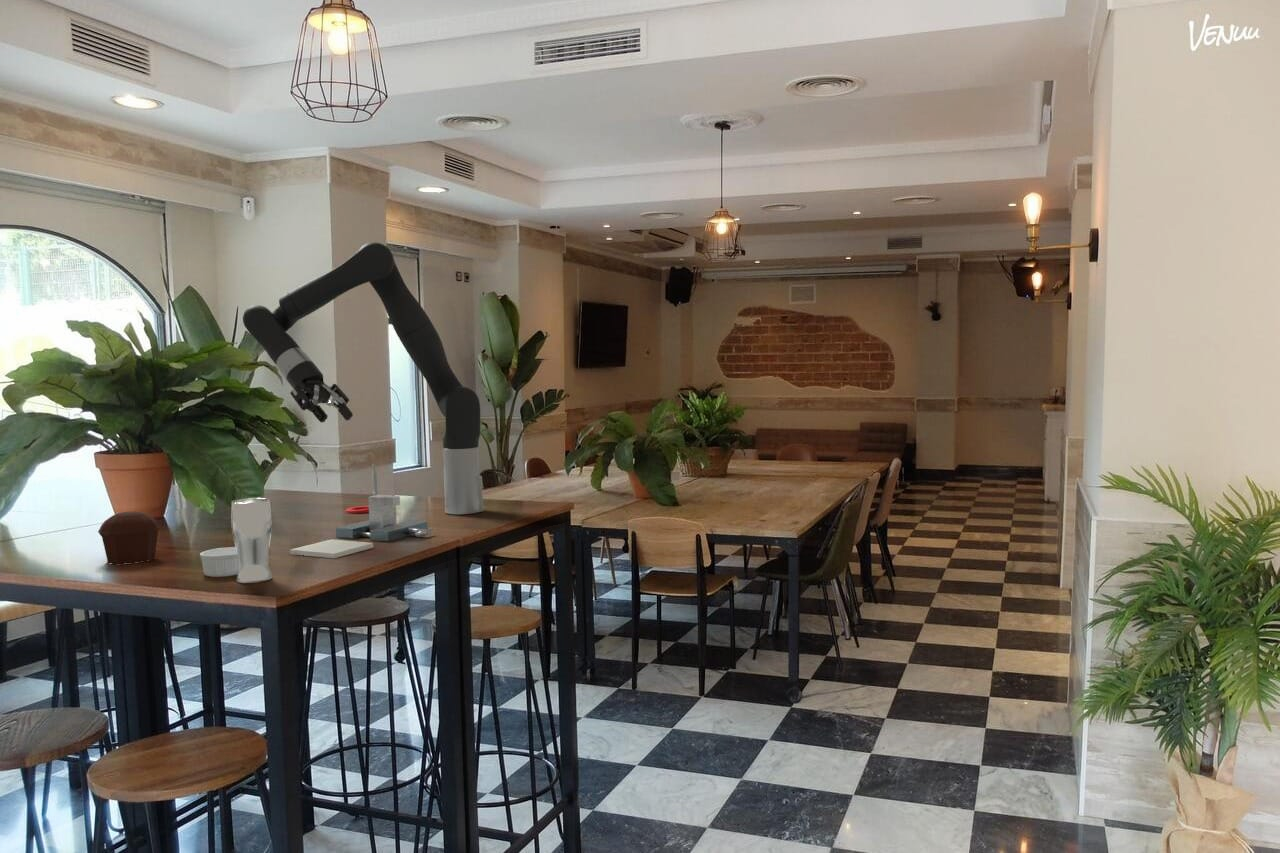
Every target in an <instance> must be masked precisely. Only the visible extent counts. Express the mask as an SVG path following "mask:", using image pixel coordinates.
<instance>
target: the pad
mask: <svg viewBox="0 0 1280 853" xmlns="http://www.w3.org/2000/svg"><path fill="white" fill-rule="evenodd" d="M373 548H374V543H373V542H364V541H355V540H354V541H353V540H345V539H344V540H343V539H327V540H323V541H319V542H316V543H310V544H306V545H303V546H299V547H296V548H291V549H290V555H292V556H293V555H294V556H295V555H296V556H303V555H304V556H306V557H315V558H326V559H327V558H328V559H337V558H341V557H345V556H348V555H351V554H356V553H358V552H363V551H366V550H369V549H373Z"/></svg>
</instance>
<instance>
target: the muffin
mask: <svg viewBox="0 0 1280 853" xmlns="http://www.w3.org/2000/svg"><path fill="white" fill-rule="evenodd" d="M161 528H162V526H161V525H160V524H159V522H158V521H157V520H156V519H155V518H154V517H153V516H151V515H149V514H147V513H145V512H142V511H122V512H119V513H115V514H113V515H111V516H110V517H108V518H107V519H105V521H103V523H102V524H101V525H100V527H99V529H98V530H97V533H98V534H99V535H100V536H101V540H102V543H103V544H102V545H103V547H104V551H105V556H106V561H107V563H108V564H109V563H114V564H113V565H115V564H124V563H135V562H141V561H147V560H150V559H152V560H154V559H153V558H156V551H157V550H156V549H157V543H158V535H159V534H158V532H159V531H160V529H161ZM150 561H151V560H150ZM147 562H148V561H147ZM141 563H142V562H141ZM124 565H125V564H124Z"/></svg>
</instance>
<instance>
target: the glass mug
mask: <svg viewBox="0 0 1280 853" xmlns="http://www.w3.org/2000/svg"><path fill="white" fill-rule="evenodd" d="M399 505H400V506H401V496H400V495H394V494H379V495H375V496H373V495H371V496H368V506H369V512H368V517H369V518H368V520H369V523H370V531H371V530H375V529H379V528H383V527H387V526H391V525H395V524H396V523H395V507H396V506H399Z"/></svg>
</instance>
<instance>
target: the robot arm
mask: <svg viewBox="0 0 1280 853" xmlns="http://www.w3.org/2000/svg"><path fill="white" fill-rule="evenodd" d="M366 283H369V284H370V285H371V287H372V288H373V289H374V291H375V292H376V294H377V296H379V299H380V300H381V302H382V304H383V307H384V310H385V312H386V314H387V315H388V319H389V321H390V323H391V326H392V328H393V330H394V331H395V334H396V336H397V337H398V339H399V341H400V342H401V344H402V345H403V347H404V348H405V351H406V352H407V354H408V355H409V357H410V358H411V360H412V362H413V363H414V365H415V367H416V368H417V369H418V370H419V372H420V374H421V375H422V376H423V378H424V380H425V381H426V383H427V385H428V386H429V389H430V392H431V394H432V396H433V397H434V400H435V402H436V404H437V407H438V409H439V411H440V413H441V414H442V415H443V417H445V431H444V432H445V433H444V436H443V438H442V455H443V460H442V461H443V484H444V511H445V514H447V515H470V514H477V513H480V512H484V501H483V500H484V497H483V494H484V493H483V476H482V475H480V456H479V454H480V452H479V440H480V436H481V404H480V399H479V396H478V395H477V393H476V391H474V390H473V389H471V388H469V387H466V386H464V385H462V383H461V382H460V380H459V379H458V377H457V376H456V374H455V373H454V372H453V369H452V368H451V367H450V364H449V362H448V359H447V355H446V352H445V348H444V345H443V342H442V339H441V337H440V335H439V332H438V331H437V330H436V327H435V325H434V324H433V323H432V321H431V318H430V317H429V316H428V314H427V313H426V311H425V310H424V308H423V307H422V305H421V304H420V303H419V301H418V300H417V299H416V298H415V296H414V295H413V293H412V292H411V291H410V290H409V288H408V287H407V285H406V283H405V281H404V278H403V277H402V275H401V273H400V271H399V268H398V266H397V264H396V262H395V258H394V254H393V253H392V250H390V248H389V247H388V246H386V245H384V244H383V243H380V242H377V241H374V242H373V241H372V242H371V241H370V242H368V243H367V242H366V243H365V244H363V245H361V247H360V248H359V249H358V250H357V251H356V252H355V253H354V254H352V256H350V257H349V258H348V259H347V260H345V261H344V262H342V263H341V264H339V265H338V266H336V267H335V268H333V269H331V270H330V271H328V272H325V273H323V274H321V275H319V276H317V277H315V278H313V279H311V280H308V281H307V282H304V283H303V284H300V285H299V286H297V287H295V288H294V289H292V290H290V291H288V292H286V293H285V294H282V295H281V296H280V298H278V299H279V300H278V304H279V305H278V307H276V308H275V309H274V310H273V311H271V310H270V309H268V308H267V306H264V305H260V304H253V305H251V306H249V307H248V308H246V310H245V311H244V312H243V315H242V323H243V326H244V327H245V329H246V330H247V331H248V333H250V335H252V337H253V338H254V340H256V341H257V342H258V343H259V345H261V347H262V348H263V349H264V350H265V352H266V354H267V356H268V357H269V358H270V359H271V360H272V361H273V363H274V364H275V366H276V367H277V369H278V370H279V372H280V373H281V375H282V377H283V378H284V379H285V380H286V381H287V383H288V384H289V385H290V387H291V388H292V390H291V391H290V395H291V396H292V398H293V399H294V401H295V402H296V404H297V405H298V406H299V407H300V410H302V411H306V410H307V411H308V412H310V413H312V414H313V416H315V418H316V419H317V420H318V421H319V422H320V423H325V422H326V420H327V419H328V414H327V413H326V412H325V410H324V409H323V408H322V407H321V406H320V404H325V405H326V406H329V407H333V408H334V409H336V410H338V412H339V414H340V415H341V416H342V417H343V419H344V420H345V421H350V420H351V418H352V417H353V415H354V414H353V412H352V411H351V409H350V408H349V407H348V406H347V404H348V403H349V402H350V398H349V397H348V396H347V395H346V394H345V393H344V392H343V391H342V389H341V388H340V387H339V386H338V385H337V384H336V383H332V385H331V386H328V385H327V384H326V383H325V382H324V374H323V373H322V371H321V370H320V369H319V368H318V366H317V365H316V364H315V363H314V362H313V360H312V359H311V358H310V356H309V355H308V354H307V353H306V352H304V351H303V349H301V347H300V346H299V345H298V343H297V342H296V341H295V340H294V338H293V337H292V336H291V335H289V334H288V333H287V331H289V329H291V328H292V327H293V326H294V325H295V324H296V323H297V322H298V321H299V320H301V319H303V318H305V317H307V316H309V315H310V314H312V313H315V312H316V311H318V310H319V309H321V308H322V307H324V306H326V305H327V304H328V303H330V302H332V301H333V300H335V299H336V298H338V297H339V296H342V295H343V294H345V293H347V292H349V291H350V290H352V289H355V288H356V287H358V286H361V285H364V284H366ZM330 398H331V399H330ZM318 404H319V405H318Z"/></svg>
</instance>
